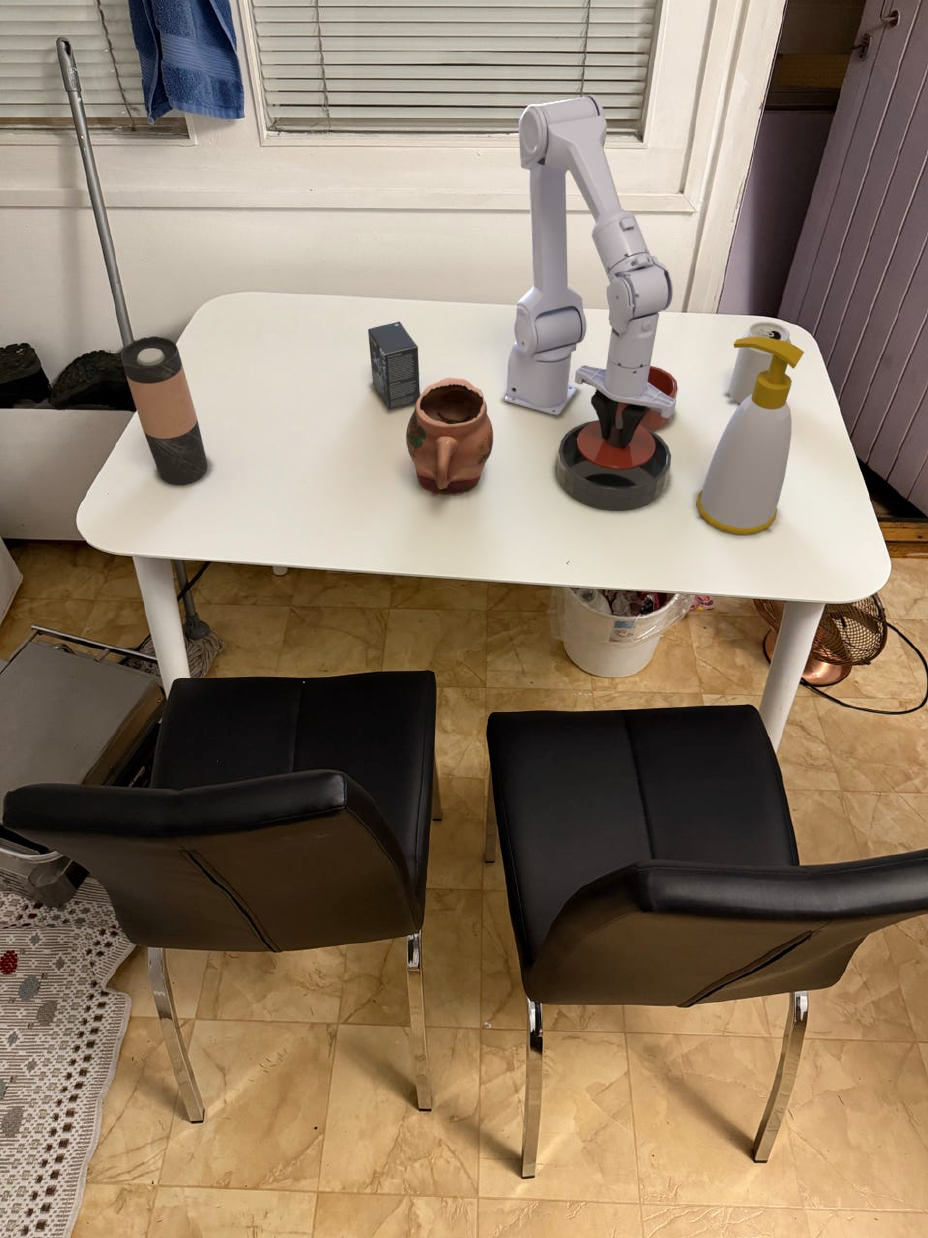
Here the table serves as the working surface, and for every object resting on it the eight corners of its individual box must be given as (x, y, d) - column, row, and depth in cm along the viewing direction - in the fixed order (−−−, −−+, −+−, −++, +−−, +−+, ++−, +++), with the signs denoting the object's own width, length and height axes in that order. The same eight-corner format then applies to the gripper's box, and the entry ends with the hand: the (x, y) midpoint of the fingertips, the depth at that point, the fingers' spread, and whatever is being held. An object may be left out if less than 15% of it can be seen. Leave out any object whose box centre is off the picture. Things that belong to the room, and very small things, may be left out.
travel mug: (219, 459, 138) (189, 342, 123) (193, 491, 133) (158, 372, 118) (174, 449, 140) (140, 331, 125) (147, 480, 135) (107, 361, 120)
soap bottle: (709, 474, 136) (751, 313, 116) (786, 500, 132) (842, 338, 112) (682, 518, 129) (721, 355, 110) (761, 547, 126) (816, 384, 106)
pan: (539, 490, 133) (541, 468, 130) (580, 429, 143) (583, 408, 140) (645, 524, 129) (649, 502, 126) (680, 458, 138) (685, 437, 135)
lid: (561, 454, 132) (564, 429, 128) (601, 416, 138) (604, 391, 134) (630, 483, 127) (635, 458, 124) (667, 443, 133) (673, 418, 130)
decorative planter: (493, 529, 128) (496, 450, 118) (406, 530, 128) (401, 450, 117) (489, 441, 141) (492, 362, 131) (410, 441, 141) (406, 362, 131)
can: (774, 413, 146) (795, 346, 137) (727, 407, 147) (744, 341, 138) (773, 386, 151) (793, 320, 142) (727, 381, 152) (744, 315, 143)
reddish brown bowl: (596, 421, 145) (600, 392, 141) (619, 386, 151) (623, 358, 147) (659, 439, 142) (665, 410, 137) (679, 403, 148) (686, 374, 144)
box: (372, 385, 151) (367, 327, 143) (404, 377, 152) (401, 320, 145) (388, 411, 146) (383, 353, 138) (421, 403, 148) (418, 345, 140)
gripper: (693, 360, 120) (675, 443, 130) (597, 326, 126) (587, 408, 136) (668, 385, 117) (651, 469, 127) (570, 349, 122) (562, 432, 132)
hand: (616, 439), depth 131 cm, fingers closed on lid, 2 cm apart
